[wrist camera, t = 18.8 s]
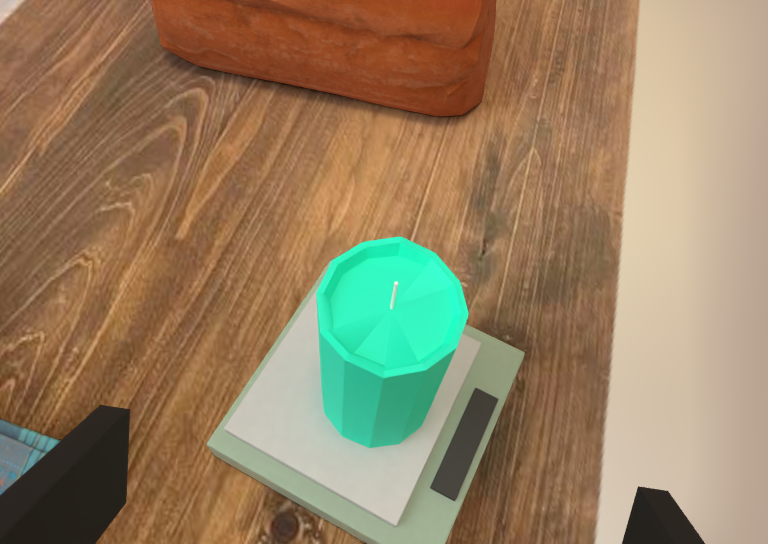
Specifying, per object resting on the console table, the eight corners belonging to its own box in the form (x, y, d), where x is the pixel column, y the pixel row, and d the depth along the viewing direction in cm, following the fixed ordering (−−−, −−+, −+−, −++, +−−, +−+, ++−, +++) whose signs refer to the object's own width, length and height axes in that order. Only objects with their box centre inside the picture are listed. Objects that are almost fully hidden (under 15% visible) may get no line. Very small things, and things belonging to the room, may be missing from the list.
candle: (330, 334, 33) (328, 206, 23) (435, 348, 33) (480, 227, 23) (311, 440, 30) (299, 347, 20) (427, 455, 30) (475, 371, 20)
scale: (514, 367, 36) (528, 348, 34) (426, 577, 30) (434, 573, 28) (331, 277, 39) (331, 253, 36) (213, 455, 32) (203, 441, 30)
